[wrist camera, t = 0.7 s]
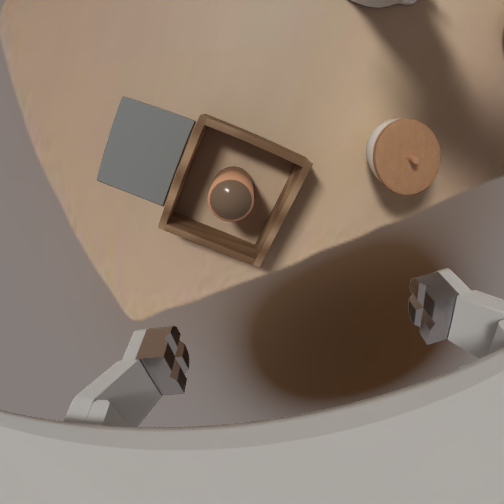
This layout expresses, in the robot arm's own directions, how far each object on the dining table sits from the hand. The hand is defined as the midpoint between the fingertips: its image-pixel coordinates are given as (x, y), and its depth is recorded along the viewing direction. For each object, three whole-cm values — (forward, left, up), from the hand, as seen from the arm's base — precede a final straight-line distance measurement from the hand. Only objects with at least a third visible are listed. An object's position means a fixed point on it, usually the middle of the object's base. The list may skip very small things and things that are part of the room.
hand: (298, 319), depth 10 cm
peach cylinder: (+7, -1, -38) cm, 38 cm away
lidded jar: (-9, +18, -38) cm, 43 cm away
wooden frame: (+7, -1, -38) cm, 38 cm away
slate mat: (+7, -16, -38) cm, 41 cm away
